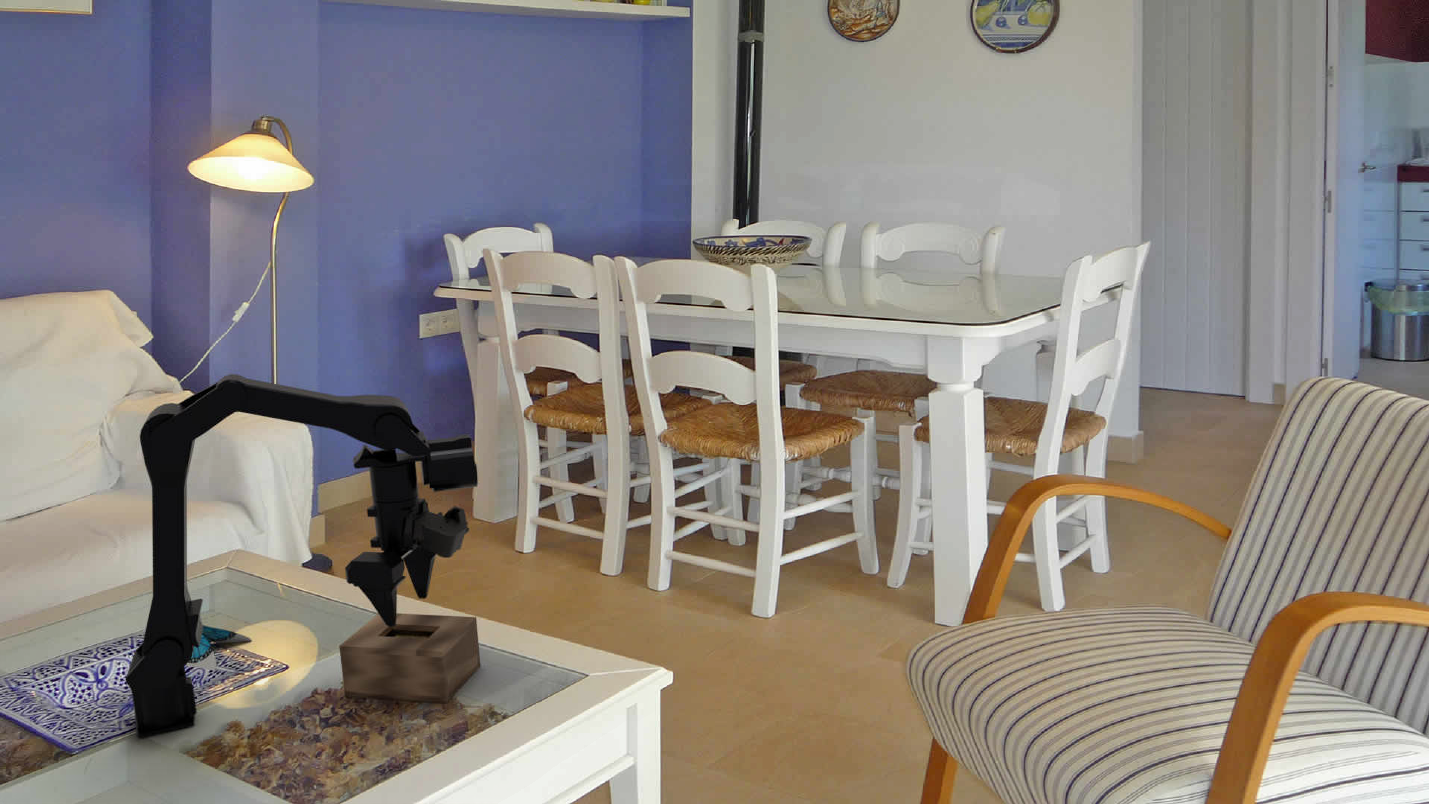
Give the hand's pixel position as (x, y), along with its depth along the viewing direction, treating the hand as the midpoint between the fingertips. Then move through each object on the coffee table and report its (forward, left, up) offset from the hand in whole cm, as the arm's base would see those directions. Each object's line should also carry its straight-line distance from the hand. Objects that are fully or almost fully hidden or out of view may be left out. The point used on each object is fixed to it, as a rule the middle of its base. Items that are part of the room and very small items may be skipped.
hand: (407, 611), depth 162 cm
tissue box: (0, 0, -10) cm, 10 cm away
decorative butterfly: (-24, +25, -10) cm, 36 cm away
